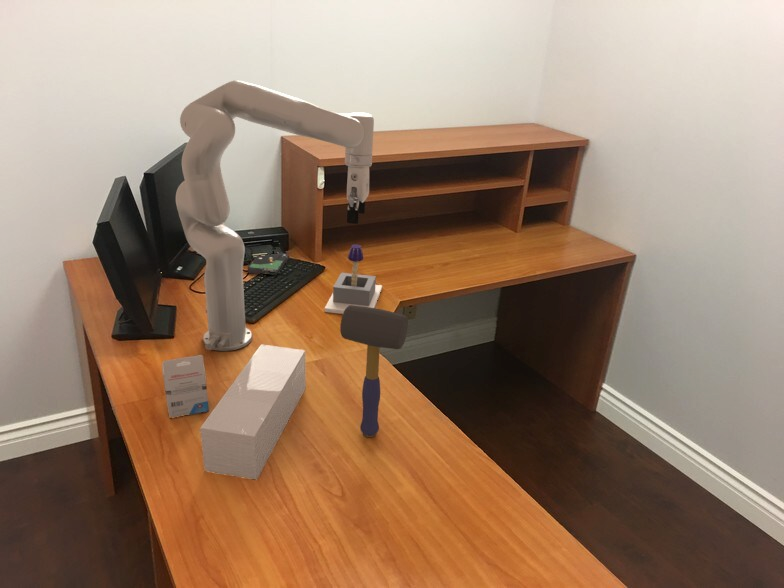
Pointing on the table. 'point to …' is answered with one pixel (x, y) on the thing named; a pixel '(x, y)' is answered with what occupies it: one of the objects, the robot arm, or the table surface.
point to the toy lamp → (355, 261)
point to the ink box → (185, 386)
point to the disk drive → (268, 263)
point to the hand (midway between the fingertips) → (356, 217)
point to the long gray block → (253, 412)
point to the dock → (353, 293)
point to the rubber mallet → (373, 351)
